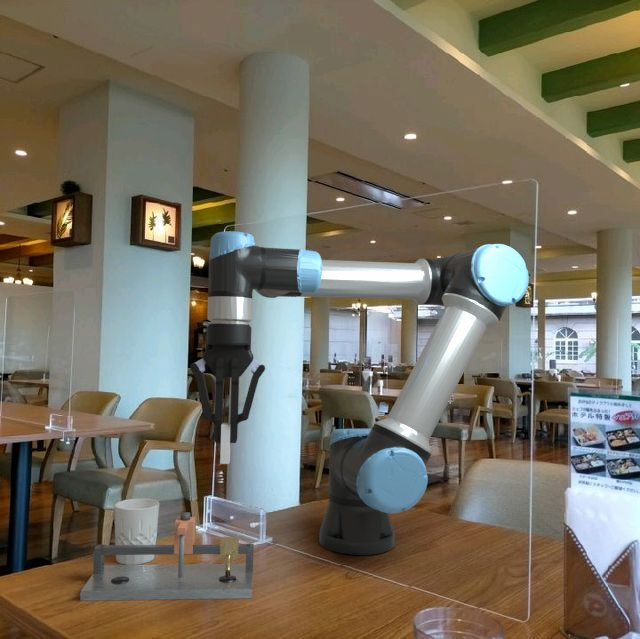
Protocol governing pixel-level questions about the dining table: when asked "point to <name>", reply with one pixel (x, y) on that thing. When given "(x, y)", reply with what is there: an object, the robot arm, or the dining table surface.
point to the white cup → (136, 527)
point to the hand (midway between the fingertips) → (225, 462)
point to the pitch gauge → (171, 574)
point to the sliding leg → (184, 538)
